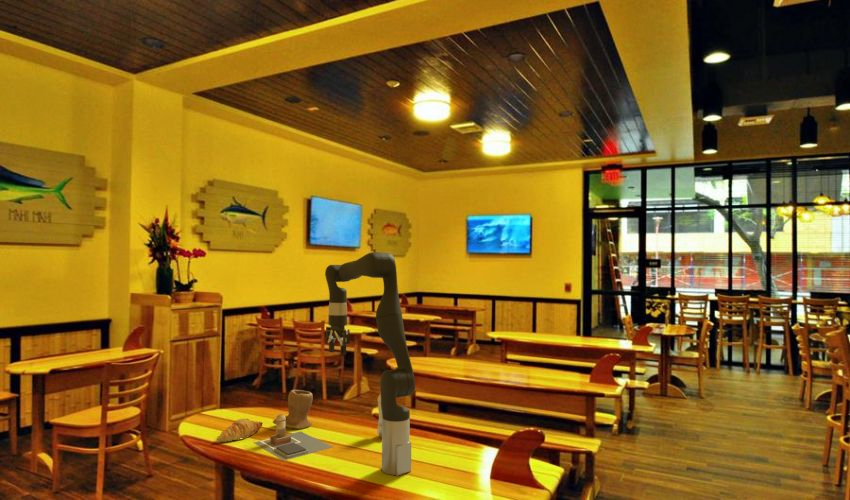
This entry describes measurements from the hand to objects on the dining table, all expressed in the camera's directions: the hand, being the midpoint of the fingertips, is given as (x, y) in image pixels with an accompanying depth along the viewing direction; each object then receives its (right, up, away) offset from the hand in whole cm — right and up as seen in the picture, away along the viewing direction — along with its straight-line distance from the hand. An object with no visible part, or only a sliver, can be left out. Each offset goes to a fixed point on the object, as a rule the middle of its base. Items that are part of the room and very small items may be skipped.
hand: (337, 353), depth 210 cm
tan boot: (-19, -33, +8) cm, 38 cm away
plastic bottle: (+20, -32, -5) cm, 38 cm away
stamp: (-19, -31, -14) cm, 39 cm away
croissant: (-38, -32, -6) cm, 50 cm away
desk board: (-14, -32, -17) cm, 38 cm away
